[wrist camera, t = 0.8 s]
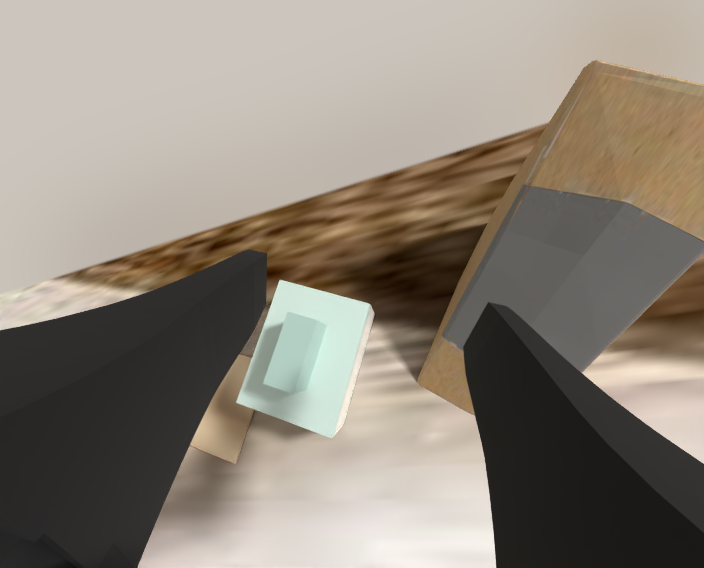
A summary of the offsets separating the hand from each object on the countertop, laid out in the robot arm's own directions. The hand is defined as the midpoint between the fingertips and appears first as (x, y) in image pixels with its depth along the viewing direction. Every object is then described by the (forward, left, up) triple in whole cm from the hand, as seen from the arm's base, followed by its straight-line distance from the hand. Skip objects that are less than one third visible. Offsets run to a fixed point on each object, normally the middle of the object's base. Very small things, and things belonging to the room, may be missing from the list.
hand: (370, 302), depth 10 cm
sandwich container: (+4, -8, -16) cm, 19 cm away
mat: (-9, +13, -16) cm, 22 cm away
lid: (-3, +5, -12) cm, 13 cm away
